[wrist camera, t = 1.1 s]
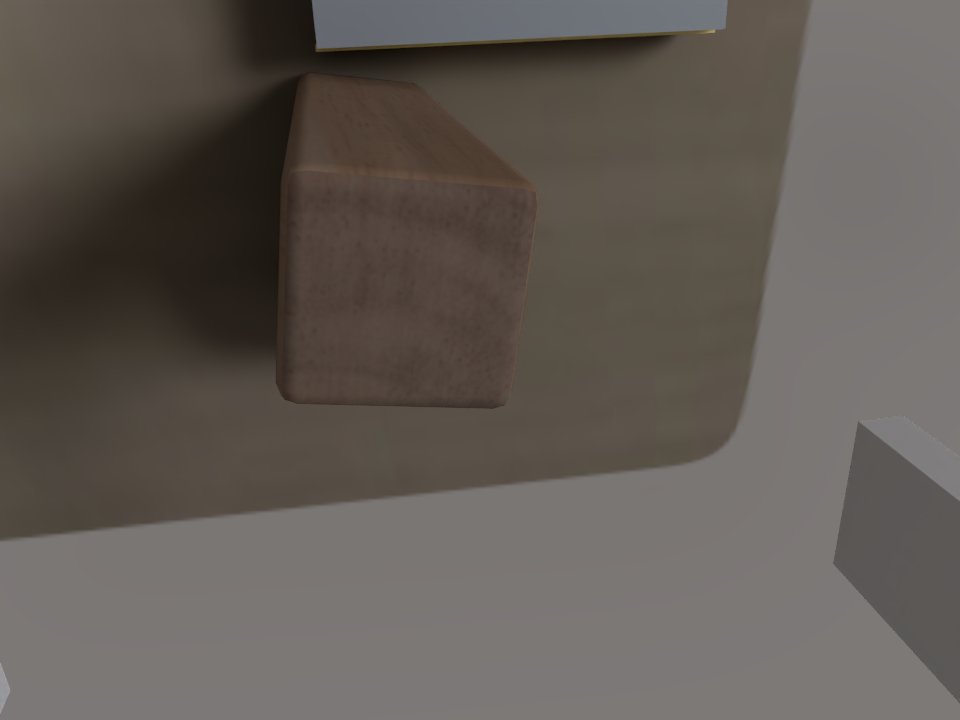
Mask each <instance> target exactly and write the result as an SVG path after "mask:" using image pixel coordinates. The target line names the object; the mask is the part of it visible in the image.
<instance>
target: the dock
mask: <svg viewBox="0 0 960 720" xmlns="http://www.w3.org/2000/svg"><path fill="white" fill-rule="evenodd" d="M312 7H313V16H314V25H315V35H316V44H315V48H316V52H326V51H346V50H367V49H388V48H408V47H429V46H449V45H470V44H491V43H511V42H532V41H552V40H573V39H593V38H614V37H635V36H655V35H676V34H696V33H715V30H718V29H725V25H726V13H727V0H312Z"/></svg>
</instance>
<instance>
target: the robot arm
mask: <svg viewBox="0 0 960 720" xmlns="http://www.w3.org/2000/svg"><path fill="white" fill-rule="evenodd" d="M833 564H834V565H835V566H836V567H837V568H838V569H839V570H840V572H841V573H842V574H843V575H844V576H845V577H846V578H847V579H848V580H849V582H850V583H851V584H852V585H853V586H854V587H855V588H856V589H857V590H858V591H859V593H860V594H861V595H862V596H863V597H864V598H865V599H866V600H867V601H868V602H869V604H870V605H871V606H872V607H873V608H874V609H875V610H876V611H877V612H878V613H879V615H880V616H881V617H882V618H883V619H884V620H885V621H886V622H887V623H888V624H889V626H890V627H891V628H892V629H893V630H894V631H895V632H896V633H897V634H898V636H899V637H900V638H901V639H902V640H903V641H904V642H905V643H906V644H907V645H908V646H909V648H910V649H911V650H912V651H913V652H914V653H915V654H916V655H917V656H918V658H919V659H920V660H921V661H922V662H923V663H924V664H925V665H926V666H927V668H928V669H929V670H930V671H931V672H932V673H933V674H934V675H935V676H936V677H937V678H938V680H939V681H940V682H941V683H942V684H943V685H944V686H945V687H946V688H947V690H948V691H949V692H950V693H951V694H952V695H953V696H954V697H955V698H956V699H957V701H958V702H959V703H960V457H959V456H958V455H957V454H955V453H954V452H952V451H951V450H949V449H948V448H947V447H945V446H944V445H943V444H941V443H940V442H938V441H937V440H936V439H934V438H933V437H932V436H930V435H929V434H927V433H926V432H925V431H923V430H922V429H920V428H919V427H918V426H916V425H915V424H914V423H912V422H911V421H909V420H908V419H907V418H905V417H904V416H896V417H888V418H880V419H872V420H865V421H858V426H857V432H856V437H855V443H854V449H853V455H852V460H851V466H850V471H849V477H848V483H847V488H846V494H845V500H844V506H843V511H842V517H841V523H840V528H839V534H838V540H837V546H836V551H835V557H834V563H833ZM10 691H11V690H10V687H9V685H8V682H7V679H6V677H5V674H4V671H3V668H2V665H1V663H0V713H1V711H2V709H3V706H4V704H5V702H6V700H7V697H8V695H9V693H10Z"/></svg>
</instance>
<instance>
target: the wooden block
mask: <svg viewBox="0 0 960 720" xmlns="http://www.w3.org/2000/svg"><path fill="white" fill-rule="evenodd" d="M539 204H540V203H539V199H538V195H537V191H536V187H535V186H534V185H533V184H532V183H531V182H529V181H528V180H527V179H526V178H525V177H524V176H523V175H521V174H520V173H519V172H518V171H517V170H516V169H514V168H513V167H512V166H511V165H510V164H509V163H508V162H506V161H505V160H504V159H503V158H502V157H501V156H499V155H498V154H497V153H496V152H495V151H494V150H493V149H491V148H490V147H489V146H488V145H487V144H486V143H484V142H483V141H482V140H481V139H480V138H479V137H478V136H476V135H475V134H474V133H473V132H472V131H471V130H469V129H468V128H467V127H466V126H465V125H464V124H463V123H461V122H460V121H459V120H458V119H457V118H456V117H455V116H453V115H452V114H451V113H450V112H449V111H448V110H447V109H445V108H444V107H443V106H442V105H441V104H440V103H439V102H437V101H436V100H435V99H434V98H433V97H432V96H430V95H429V94H428V93H427V92H426V91H425V90H423V89H422V88H421V87H419V86H417V85H416V84H414V83H406V82H396V81H387V80H378V79H369V78H360V77H351V76H342V75H332V74H323V73H314V72H309V73H305V74H302V75H301V77H300V79H299V82H298V85H297V91H296V96H295V102H294V109H293V115H292V121H291V127H290V133H289V138H288V144H287V150H286V156H285V162H284V168H283V174H282V179H281V202H280V240H279V279H278V317H277V355H276V384H277V386H278V389H279V391H280V393H281V395H282V397H283V398H284V399H285V400H288V401H291V402H294V403H297V404H330V405H370V406H410V407H450V408H491V409H493V408H497V407H500V406H504V405H505V403H506V401H507V399H508V397H509V395H510V393H511V391H512V386H513V380H514V373H515V366H516V359H517V352H518V346H519V339H520V332H521V325H522V319H523V312H524V305H525V298H526V292H527V285H528V278H529V271H530V265H531V258H532V251H533V244H534V238H535V231H536V224H537V217H538V211H539Z"/></svg>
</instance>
